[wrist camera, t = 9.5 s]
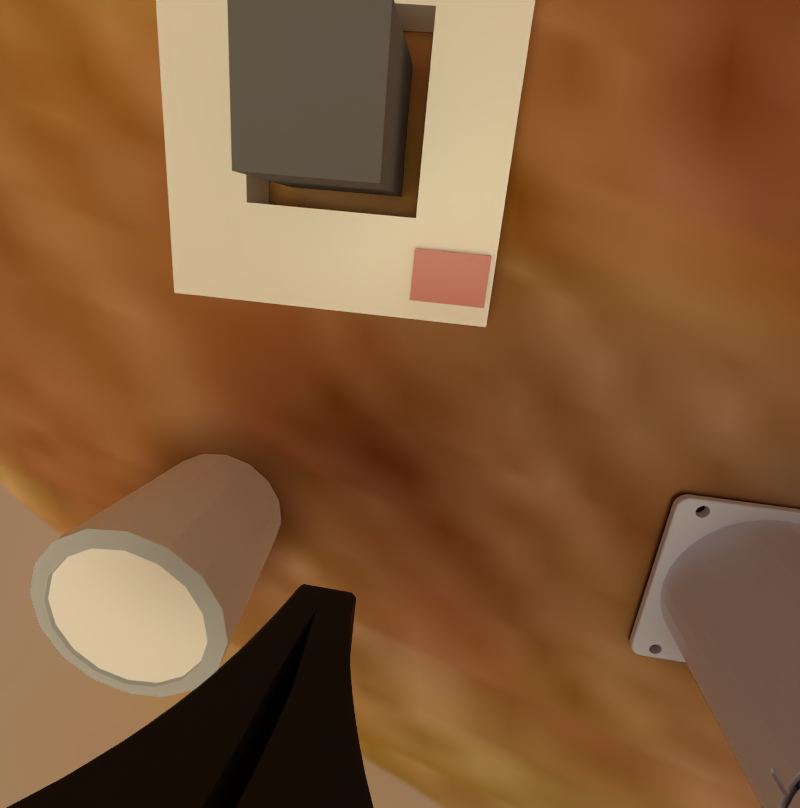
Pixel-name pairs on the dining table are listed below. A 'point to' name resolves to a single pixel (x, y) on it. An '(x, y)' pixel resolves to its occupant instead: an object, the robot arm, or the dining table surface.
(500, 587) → the dining table surface
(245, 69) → the plug
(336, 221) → the socket plate
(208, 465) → the shot glass
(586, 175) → the dining table surface
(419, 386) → the dining table surface
